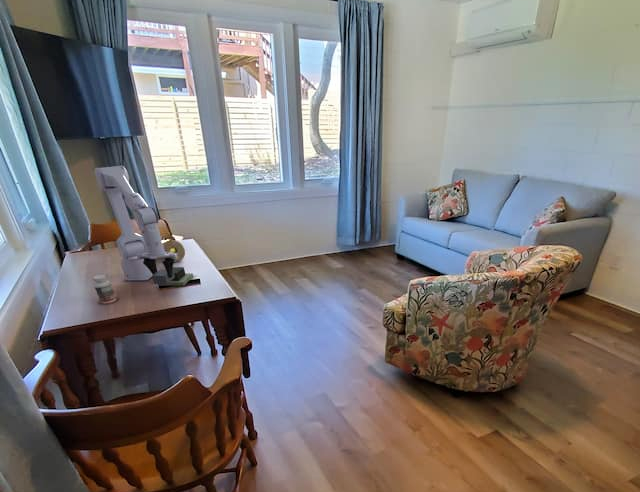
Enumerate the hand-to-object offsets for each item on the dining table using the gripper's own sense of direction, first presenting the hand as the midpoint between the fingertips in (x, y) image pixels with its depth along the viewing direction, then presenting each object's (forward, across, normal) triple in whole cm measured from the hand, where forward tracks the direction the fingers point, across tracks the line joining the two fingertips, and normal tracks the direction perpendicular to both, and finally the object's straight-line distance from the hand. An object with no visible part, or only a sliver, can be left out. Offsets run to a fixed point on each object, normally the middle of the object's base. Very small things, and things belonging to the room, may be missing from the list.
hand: (163, 277), depth 153 cm
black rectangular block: (+5, -2, +13) cm, 14 cm away
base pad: (+7, -2, +13) cm, 15 cm away
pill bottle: (+7, -20, -7) cm, 22 cm away
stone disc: (+7, -13, +37) cm, 40 cm away
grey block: (+1, 0, 0) cm, 1 cm away
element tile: (+7, -27, +49) cm, 56 cm away
